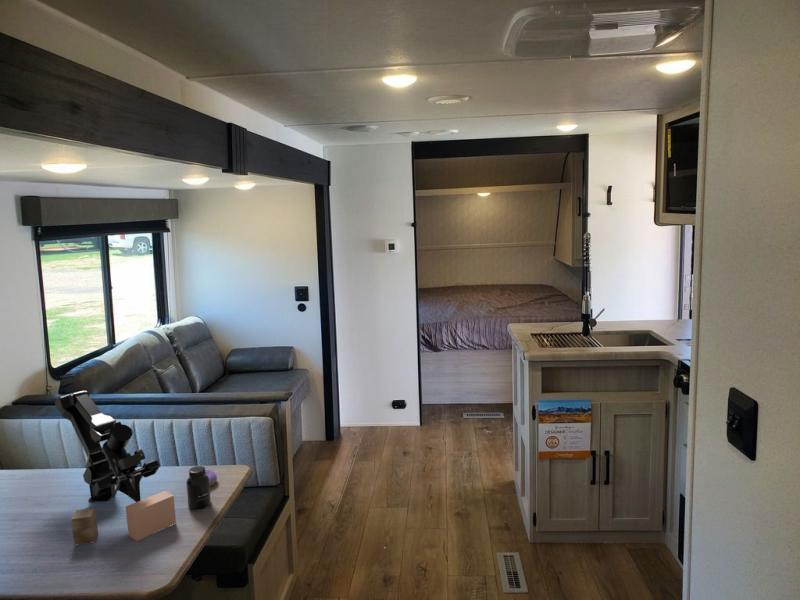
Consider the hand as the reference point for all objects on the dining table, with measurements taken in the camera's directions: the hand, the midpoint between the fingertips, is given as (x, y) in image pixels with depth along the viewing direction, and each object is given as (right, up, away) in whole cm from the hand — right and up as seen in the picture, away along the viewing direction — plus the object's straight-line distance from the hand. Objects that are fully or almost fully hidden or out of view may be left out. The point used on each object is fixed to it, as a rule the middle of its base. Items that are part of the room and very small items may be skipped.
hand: (138, 501), depth 184 cm
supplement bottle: (+15, -5, +11) cm, 19 cm away
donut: (+11, -3, +25) cm, 27 cm away
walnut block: (-12, -8, -7) cm, 16 cm away
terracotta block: (+5, -7, -3) cm, 9 cm away
